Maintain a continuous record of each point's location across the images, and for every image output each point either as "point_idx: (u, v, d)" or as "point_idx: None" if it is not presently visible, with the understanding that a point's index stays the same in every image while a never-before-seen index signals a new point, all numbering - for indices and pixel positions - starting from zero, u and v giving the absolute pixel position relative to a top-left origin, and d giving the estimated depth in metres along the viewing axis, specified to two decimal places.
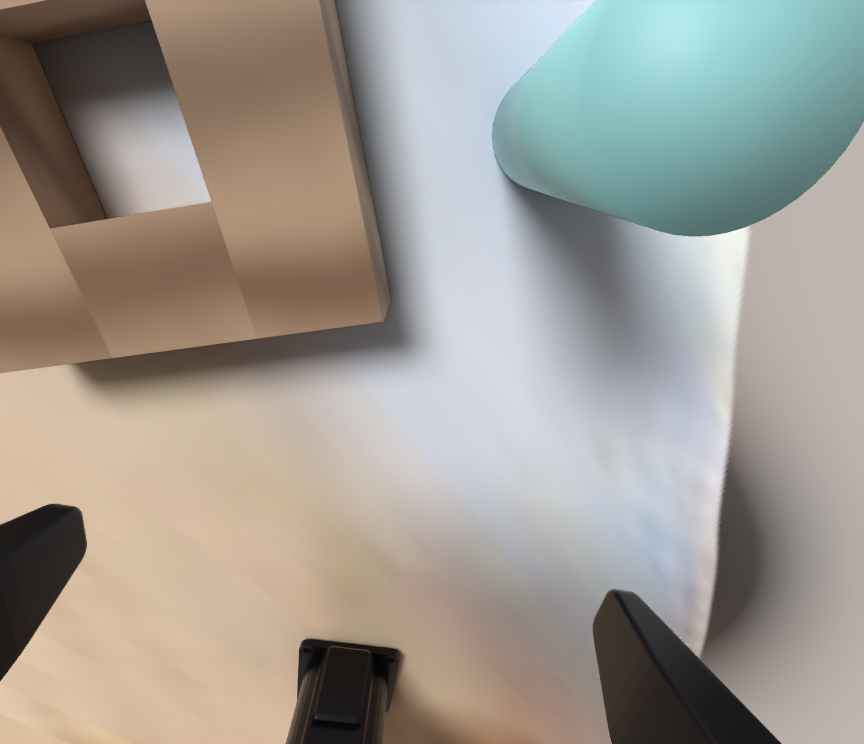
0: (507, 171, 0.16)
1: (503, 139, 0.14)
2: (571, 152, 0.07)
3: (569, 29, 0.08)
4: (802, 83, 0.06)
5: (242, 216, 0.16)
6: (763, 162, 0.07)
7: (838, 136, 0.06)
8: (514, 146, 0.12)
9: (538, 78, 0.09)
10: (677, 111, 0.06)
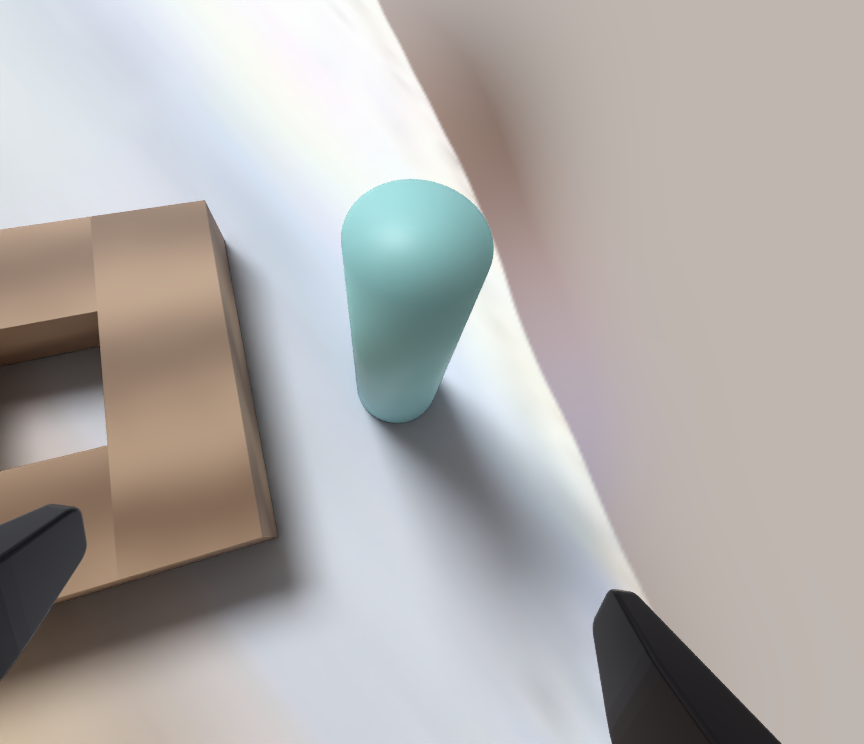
0: (369, 405, 0.21)
1: (356, 373, 0.20)
2: (353, 289, 0.12)
3: None
4: (454, 238, 0.12)
5: (133, 453, 0.18)
6: (452, 270, 0.12)
7: (484, 257, 0.12)
8: (356, 360, 0.17)
9: None
10: (396, 251, 0.12)
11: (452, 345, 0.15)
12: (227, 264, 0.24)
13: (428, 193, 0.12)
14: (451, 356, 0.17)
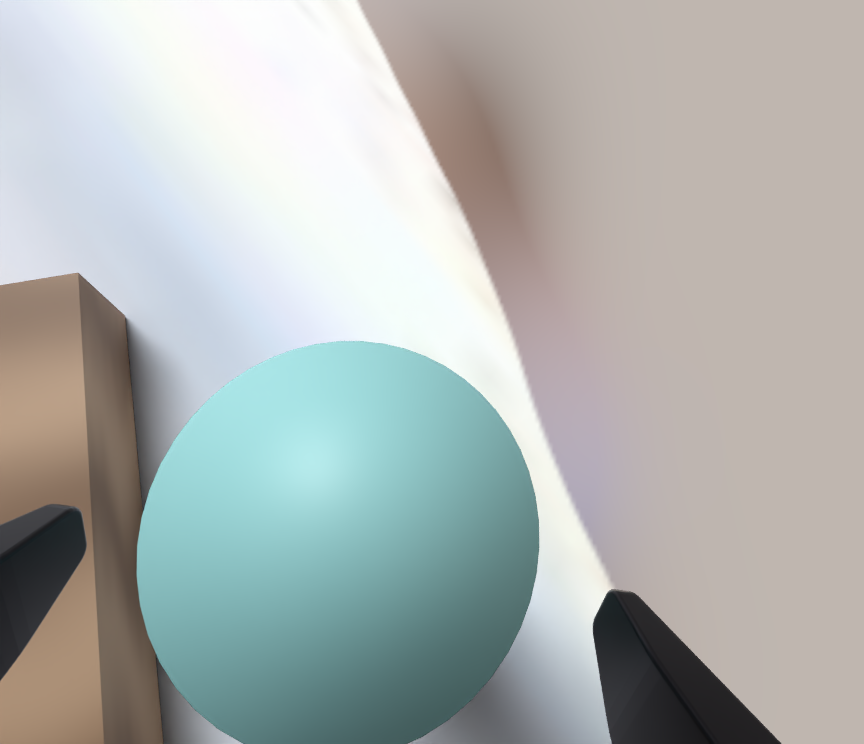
0: None
1: None
2: None
3: None
4: (440, 505, 0.05)
5: None
6: (434, 611, 0.04)
7: (518, 558, 0.05)
8: None
9: None
10: (286, 563, 0.04)
11: None
12: (125, 356, 0.17)
13: (381, 377, 0.05)
14: None
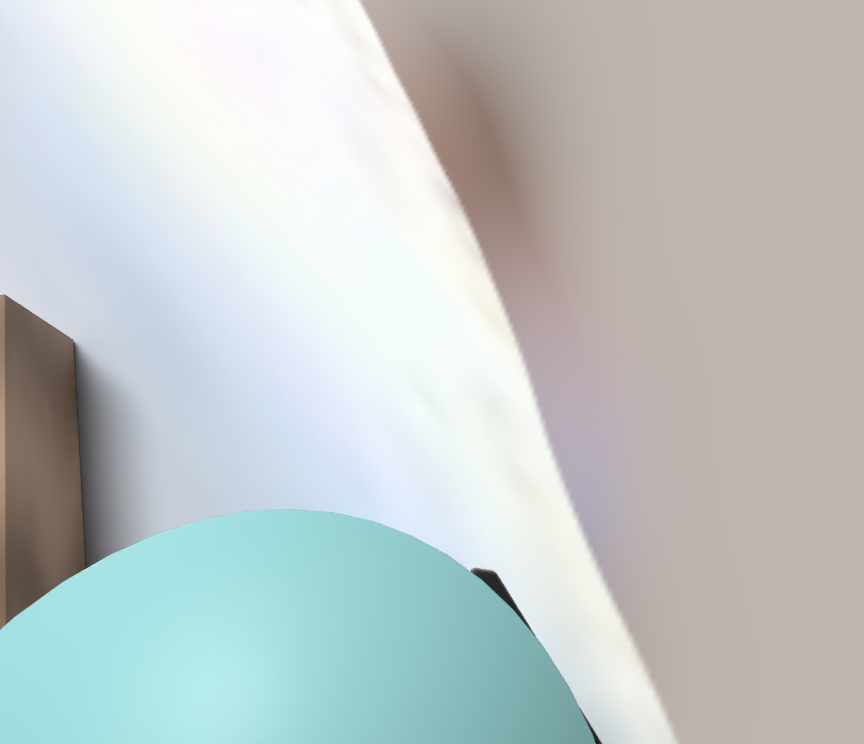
0: None
1: None
2: None
3: None
4: None
5: None
6: None
7: None
8: None
9: None
10: None
11: None
12: (70, 389, 0.14)
13: (324, 584, 0.03)
14: None
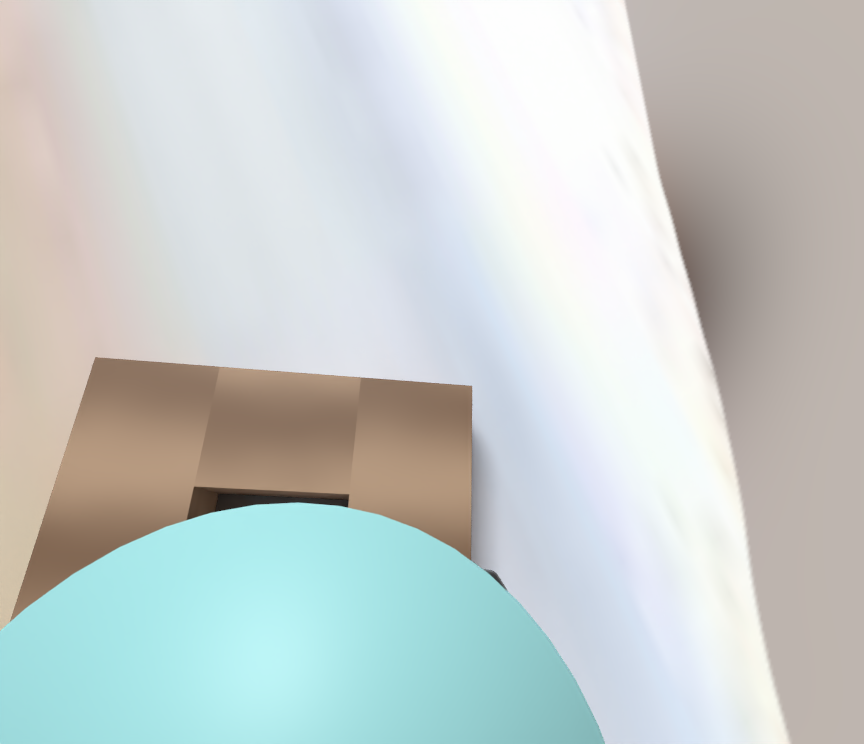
0: None
1: None
2: None
3: None
4: None
5: None
6: None
7: None
8: None
9: None
10: None
11: None
12: None
13: (333, 578, 0.03)
14: None
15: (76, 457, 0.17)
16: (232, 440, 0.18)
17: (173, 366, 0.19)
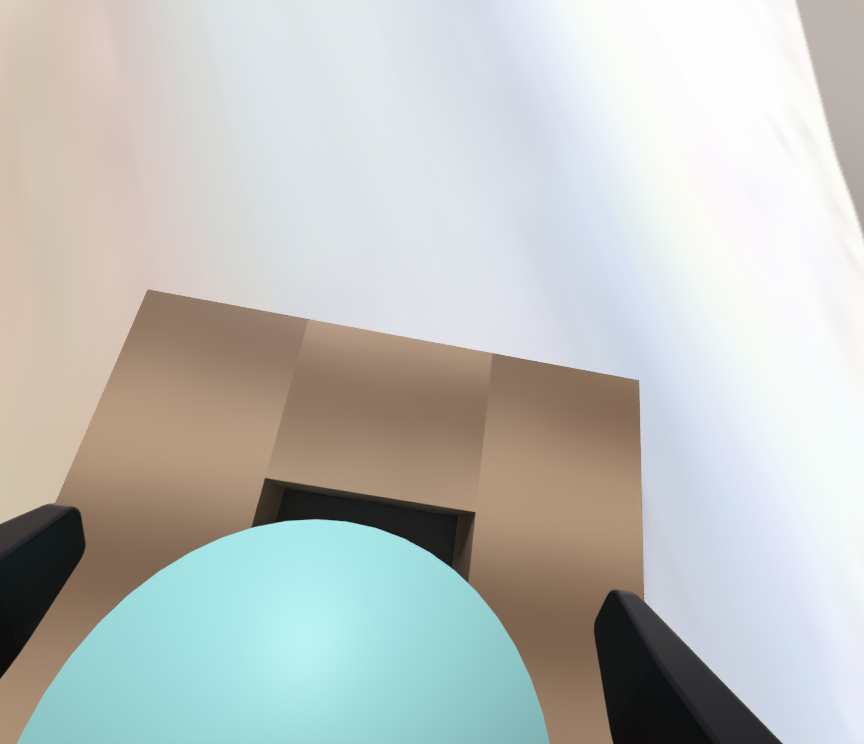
0: None
1: None
2: None
3: None
4: None
5: None
6: None
7: None
8: None
9: None
10: None
11: None
12: None
13: (342, 573, 0.04)
14: None
15: (110, 419, 0.13)
16: (320, 419, 0.13)
17: (248, 312, 0.14)
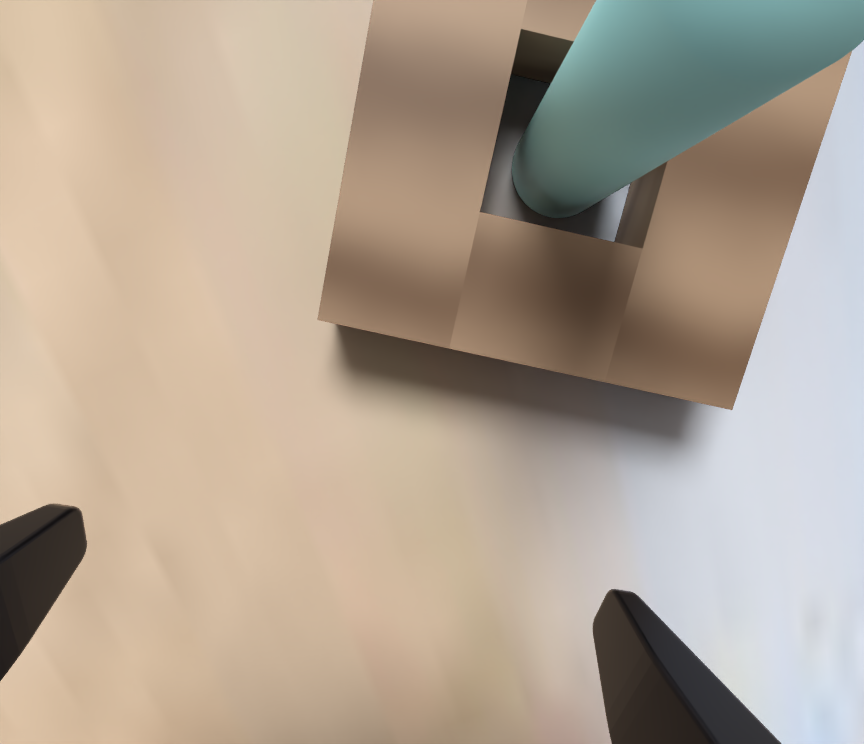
0: (531, 196, 0.18)
1: (529, 155, 0.15)
2: (635, 42, 0.08)
3: None
4: None
5: (661, 269, 0.16)
6: (829, 4, 0.07)
7: None
8: (547, 142, 0.13)
9: (574, 47, 0.11)
10: None
11: None
12: None
13: None
14: None
15: None
16: None
17: None
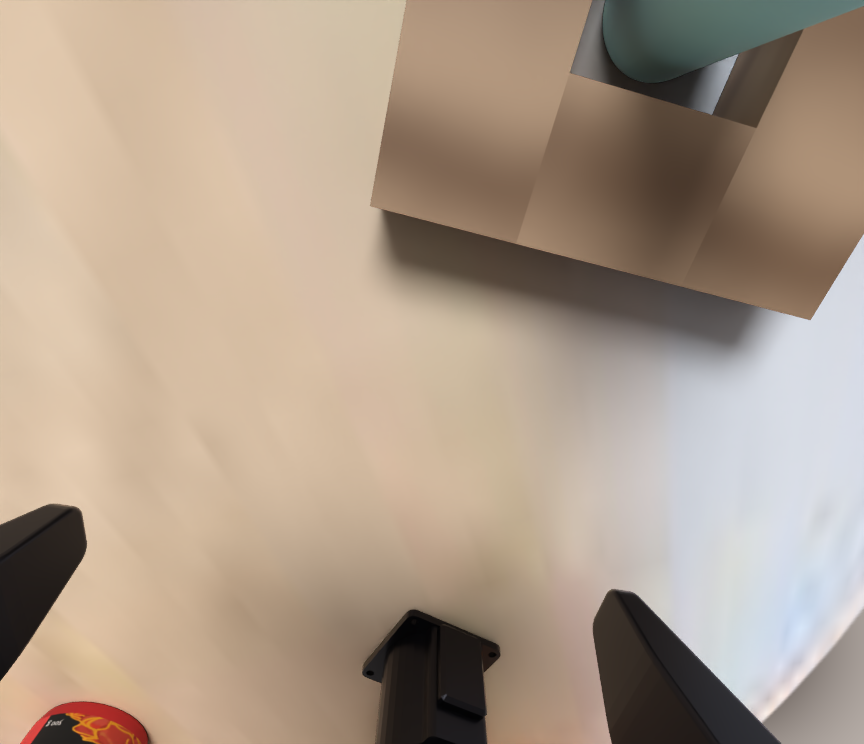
0: (627, 54, 0.14)
1: None
2: None
3: None
4: None
5: (772, 155, 0.14)
6: None
7: None
8: None
9: None
10: None
11: None
12: None
13: None
14: None
15: None
16: None
17: None
